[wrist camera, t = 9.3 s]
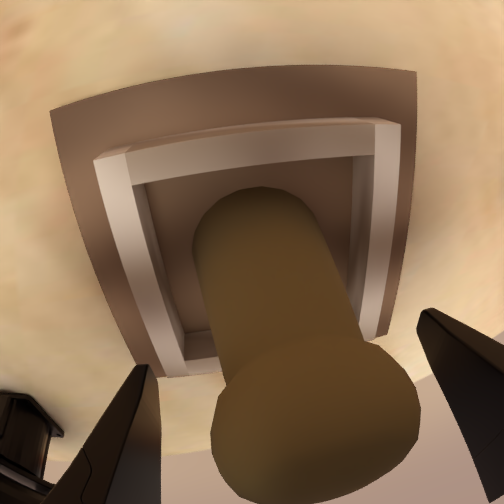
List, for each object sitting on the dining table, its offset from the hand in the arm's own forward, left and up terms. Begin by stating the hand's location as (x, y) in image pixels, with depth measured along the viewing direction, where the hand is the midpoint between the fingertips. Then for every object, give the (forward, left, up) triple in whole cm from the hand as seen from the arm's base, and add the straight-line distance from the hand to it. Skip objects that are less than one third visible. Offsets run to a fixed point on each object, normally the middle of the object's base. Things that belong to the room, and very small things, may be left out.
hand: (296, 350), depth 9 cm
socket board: (0, 0, -7) cm, 7 cm away
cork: (0, 0, -7) cm, 7 cm away
